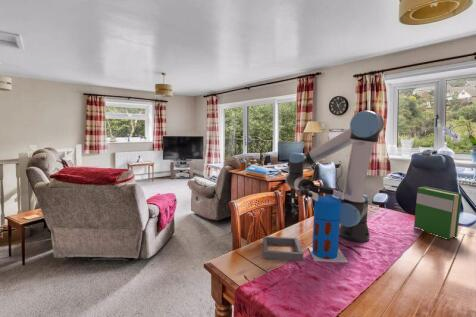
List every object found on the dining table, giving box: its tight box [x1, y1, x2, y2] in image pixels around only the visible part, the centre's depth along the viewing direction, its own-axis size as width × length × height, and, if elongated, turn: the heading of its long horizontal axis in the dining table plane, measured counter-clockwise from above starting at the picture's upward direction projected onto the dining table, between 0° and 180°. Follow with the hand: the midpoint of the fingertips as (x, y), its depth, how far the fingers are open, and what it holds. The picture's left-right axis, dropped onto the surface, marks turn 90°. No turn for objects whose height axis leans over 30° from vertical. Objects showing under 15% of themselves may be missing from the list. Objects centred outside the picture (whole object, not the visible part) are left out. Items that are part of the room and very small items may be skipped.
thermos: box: [312, 195, 341, 259], centre depth 114 cm, size 11×11×25 cm
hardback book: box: [413, 186, 463, 239], centre depth 142 cm, size 18×7×24 cm, turn 24°
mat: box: [308, 246, 349, 264], centre depth 116 cm, size 14×12×1 cm
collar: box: [262, 236, 304, 262], centre depth 119 cm, size 16×16×3 cm
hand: (330, 197), depth 110 cm, fingers open, 12 cm apart
